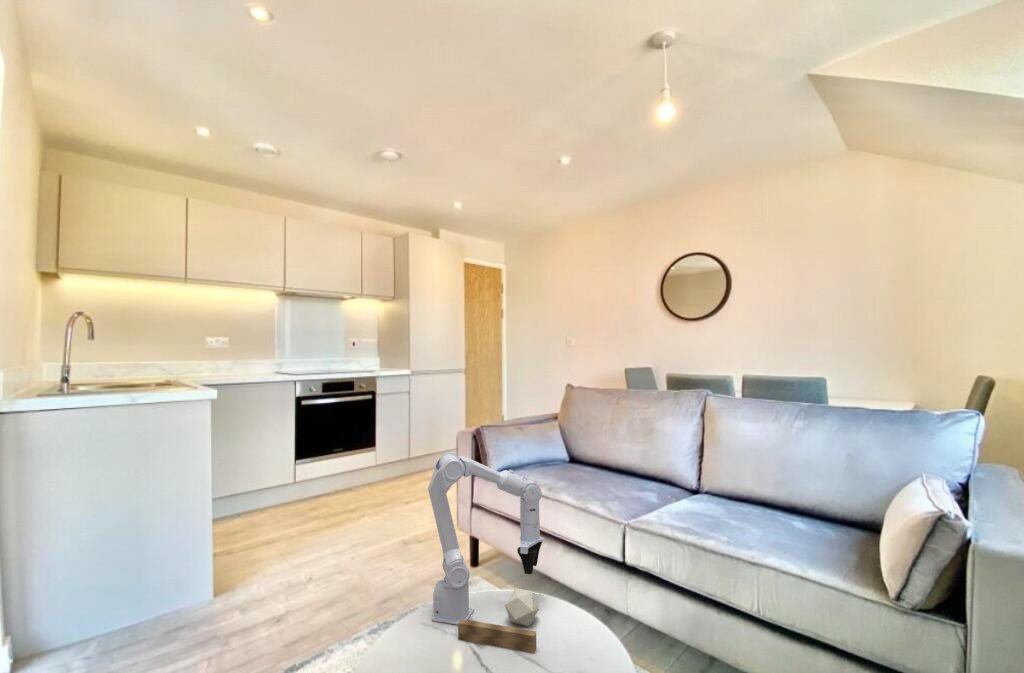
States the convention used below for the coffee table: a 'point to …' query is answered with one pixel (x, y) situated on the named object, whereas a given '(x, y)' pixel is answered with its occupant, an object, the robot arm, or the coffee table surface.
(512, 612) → the die
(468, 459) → the robot arm
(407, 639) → the coffee table surface
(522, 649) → the walnut board
